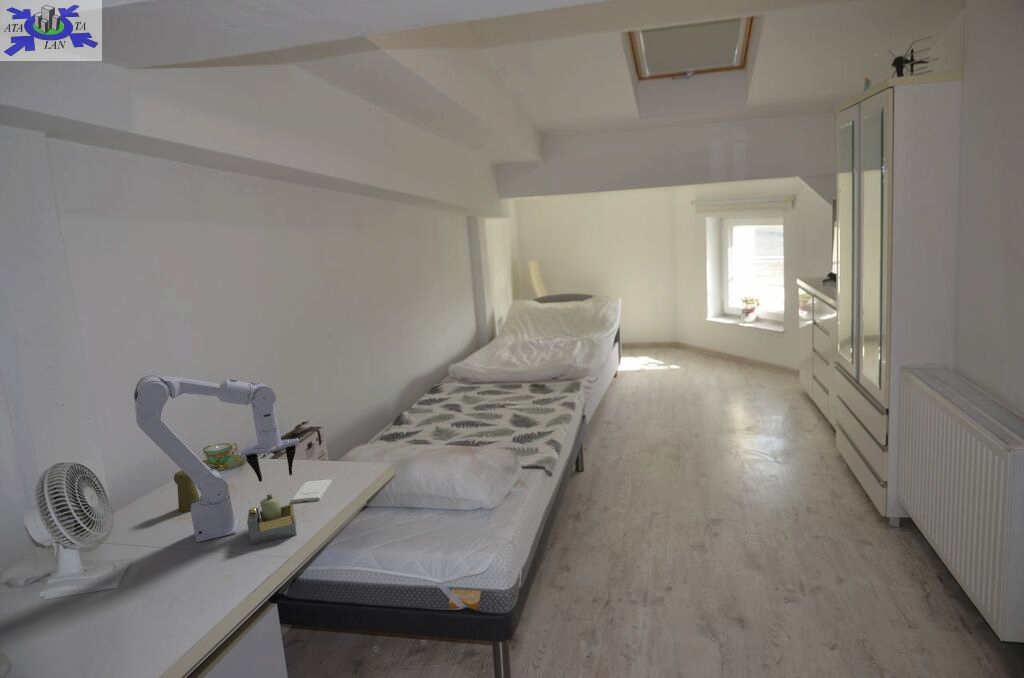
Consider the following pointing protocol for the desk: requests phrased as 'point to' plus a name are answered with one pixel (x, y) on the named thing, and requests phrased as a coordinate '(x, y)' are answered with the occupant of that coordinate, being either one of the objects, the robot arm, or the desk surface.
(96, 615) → the desk surface
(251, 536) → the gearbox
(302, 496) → the external hard drive
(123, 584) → the desk surface
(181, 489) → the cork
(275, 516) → the spout can
